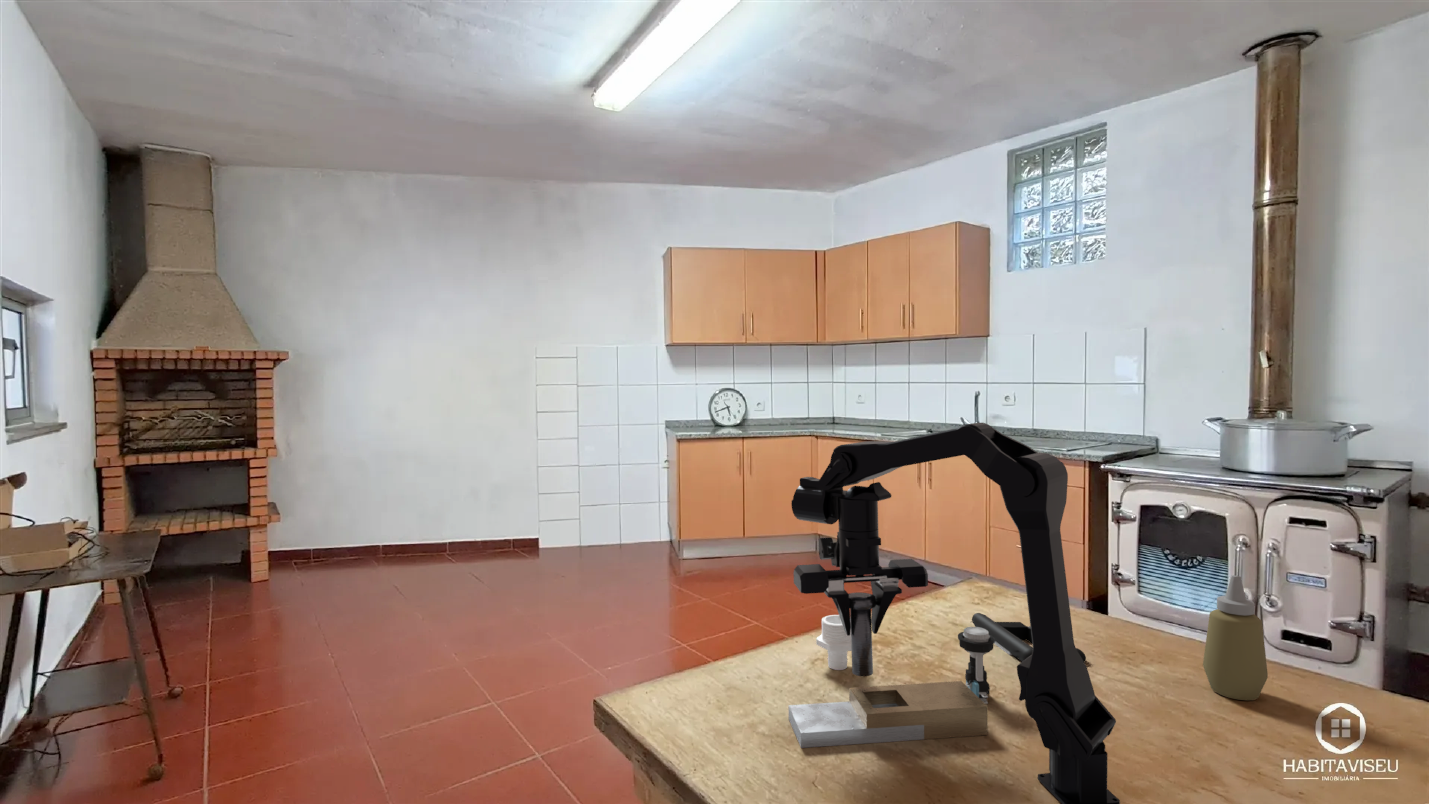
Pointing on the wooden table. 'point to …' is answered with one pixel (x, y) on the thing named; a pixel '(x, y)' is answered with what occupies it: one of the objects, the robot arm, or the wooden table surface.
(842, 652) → the pipe fitting
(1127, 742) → the wooden table surface
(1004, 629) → the black frame
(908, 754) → the wooden table surface
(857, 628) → the metal knob
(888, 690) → the tan and silver block
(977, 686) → the push button
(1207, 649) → the squeeze bottle
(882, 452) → the robot arm
